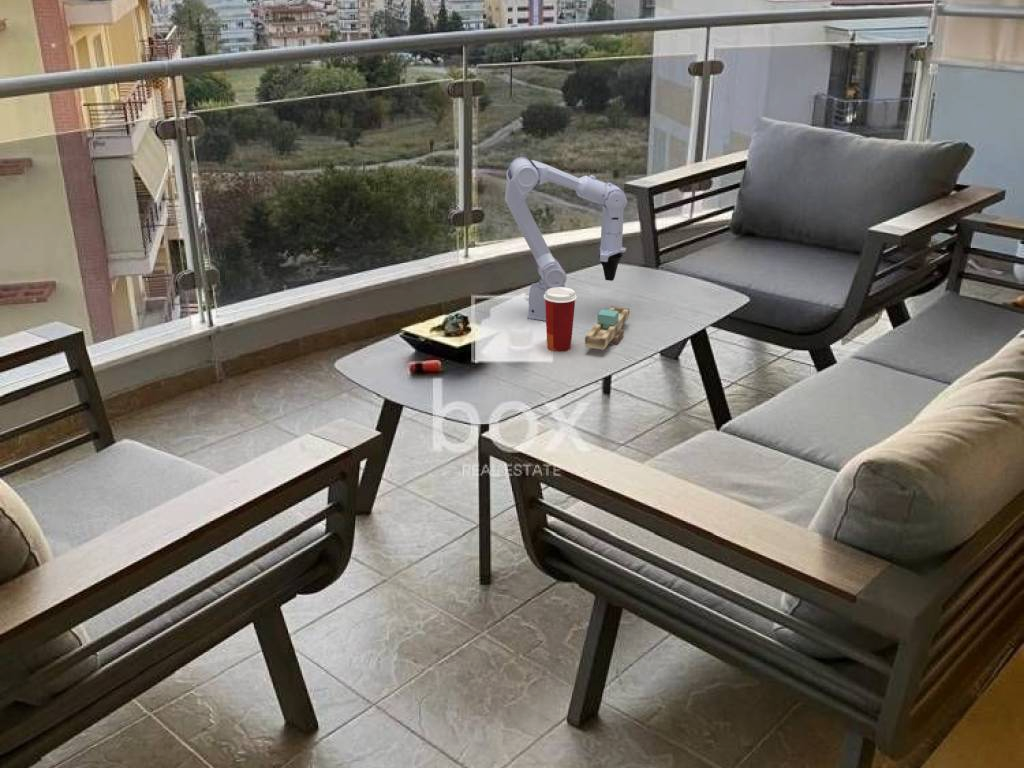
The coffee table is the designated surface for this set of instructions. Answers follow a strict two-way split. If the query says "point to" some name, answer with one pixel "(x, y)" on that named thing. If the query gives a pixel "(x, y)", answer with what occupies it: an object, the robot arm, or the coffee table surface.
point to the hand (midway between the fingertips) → (609, 279)
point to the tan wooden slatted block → (607, 331)
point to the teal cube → (608, 318)
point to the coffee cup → (559, 317)
